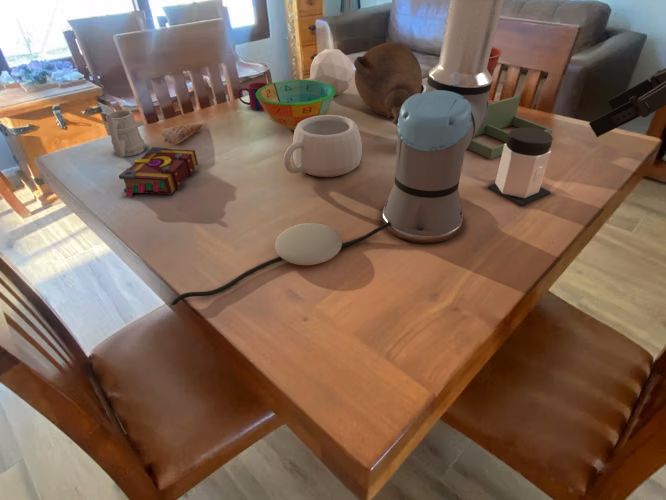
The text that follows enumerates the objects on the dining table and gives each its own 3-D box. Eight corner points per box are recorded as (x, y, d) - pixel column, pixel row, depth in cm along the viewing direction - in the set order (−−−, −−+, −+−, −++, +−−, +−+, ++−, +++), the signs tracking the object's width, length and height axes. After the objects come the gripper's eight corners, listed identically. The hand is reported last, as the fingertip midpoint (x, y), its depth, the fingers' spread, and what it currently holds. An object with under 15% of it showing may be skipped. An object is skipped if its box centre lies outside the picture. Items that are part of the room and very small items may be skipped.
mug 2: (328, 144, 114) (327, 107, 107) (376, 163, 104) (377, 123, 98) (264, 171, 102) (258, 131, 96) (311, 196, 92) (308, 153, 86)
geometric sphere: (323, 111, 148) (295, 78, 139) (334, 83, 155) (308, 50, 146) (356, 96, 139) (328, 59, 130) (366, 67, 146) (339, 30, 137)
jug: (356, 101, 140) (374, 154, 120) (345, 41, 126) (364, 90, 105) (417, 85, 139) (446, 135, 119) (413, 23, 124) (445, 68, 104)
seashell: (159, 149, 113) (154, 131, 110) (199, 125, 127) (195, 108, 124) (173, 152, 112) (168, 133, 109) (212, 126, 126) (208, 109, 123)
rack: (490, 159, 104) (496, 127, 100) (453, 141, 113) (458, 111, 108) (549, 138, 113) (558, 108, 108) (511, 123, 122) (518, 95, 117)
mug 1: (149, 143, 117) (135, 99, 109) (137, 163, 107) (122, 116, 100) (120, 145, 116) (105, 101, 109) (106, 165, 107) (88, 118, 100)
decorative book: (199, 166, 105) (195, 147, 102) (169, 199, 93) (163, 179, 90) (157, 163, 107) (151, 145, 104) (121, 196, 94) (114, 176, 91)
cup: (270, 110, 135) (267, 88, 131) (239, 111, 135) (235, 89, 131) (272, 103, 141) (270, 81, 137) (242, 104, 141) (239, 82, 137)
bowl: (351, 128, 122) (351, 92, 116) (283, 148, 112) (279, 110, 106) (310, 107, 137) (308, 74, 131) (247, 123, 127) (242, 88, 121)
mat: (521, 206, 87) (522, 204, 87) (487, 188, 93) (488, 186, 93) (550, 194, 91) (550, 191, 90) (515, 177, 97) (516, 175, 97)
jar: (518, 202, 87) (533, 147, 80) (487, 186, 93) (499, 133, 86) (546, 190, 91) (563, 136, 84) (515, 175, 96) (528, 123, 89)
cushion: (278, 231, 82) (277, 218, 80) (341, 229, 82) (340, 216, 80) (272, 272, 73) (270, 258, 71) (343, 270, 73) (343, 256, 71)
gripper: (777, 79, 51) (596, 160, 68) (776, 40, 66) (628, 114, 83) (747, 25, 51) (572, 120, 67) (752, -1, 66) (608, 82, 83)
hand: (602, 117), depth 75 cm, fingers open, 13 cm apart
